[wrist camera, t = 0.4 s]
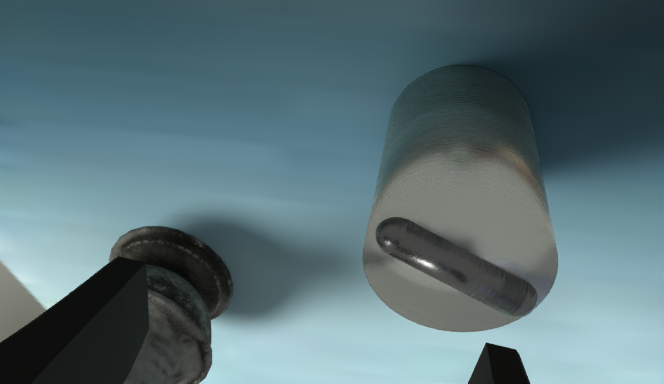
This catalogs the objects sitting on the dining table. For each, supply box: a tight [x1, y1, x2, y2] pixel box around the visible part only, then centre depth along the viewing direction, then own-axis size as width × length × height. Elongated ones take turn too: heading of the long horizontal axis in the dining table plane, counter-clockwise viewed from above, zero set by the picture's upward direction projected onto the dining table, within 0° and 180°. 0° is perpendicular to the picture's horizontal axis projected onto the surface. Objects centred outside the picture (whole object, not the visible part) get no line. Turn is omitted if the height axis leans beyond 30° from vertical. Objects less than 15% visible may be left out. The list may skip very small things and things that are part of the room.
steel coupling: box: [363, 65, 558, 332], centre depth 16 cm, size 4×4×7 cm
